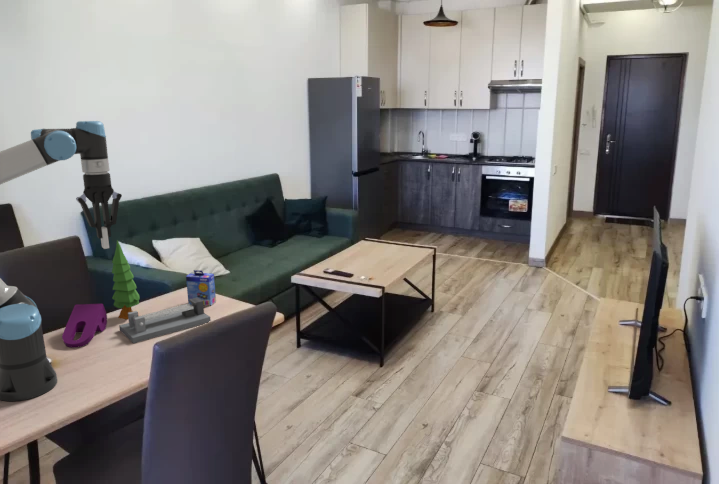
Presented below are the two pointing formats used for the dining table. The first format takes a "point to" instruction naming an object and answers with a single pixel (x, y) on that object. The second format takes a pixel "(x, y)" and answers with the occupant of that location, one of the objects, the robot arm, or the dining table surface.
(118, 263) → the decorative tree
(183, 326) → the latch base
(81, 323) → the mounting bracket
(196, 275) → the ink cartridge box
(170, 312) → the grey long flat bar
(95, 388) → the dining table surface
